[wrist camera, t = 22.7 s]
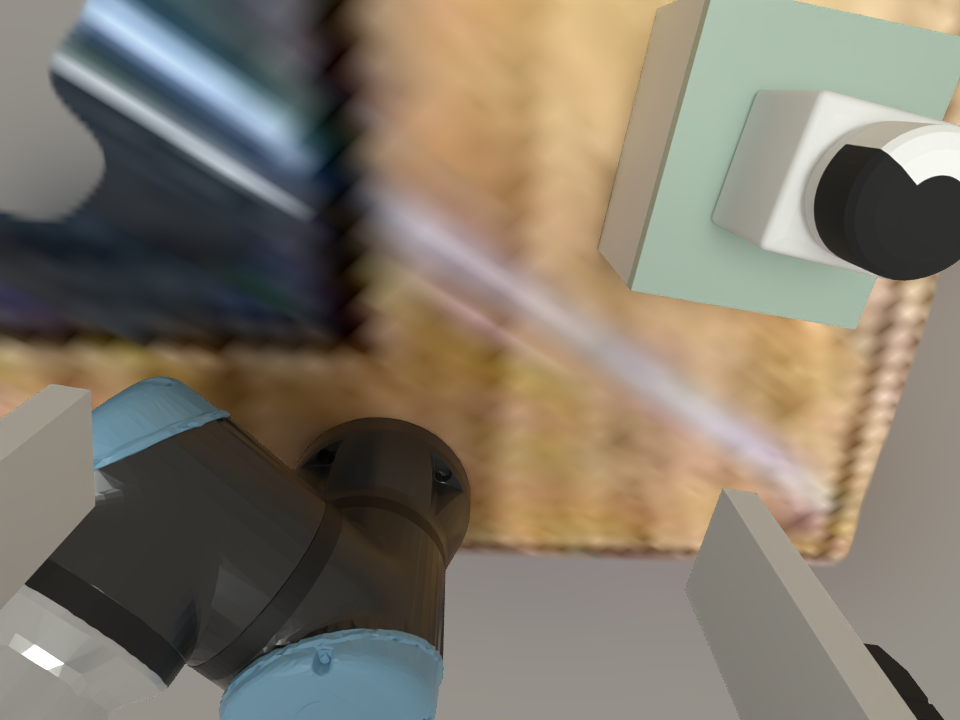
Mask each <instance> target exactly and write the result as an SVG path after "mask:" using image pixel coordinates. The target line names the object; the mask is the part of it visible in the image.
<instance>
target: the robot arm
mask: <svg viewBox="0 0 960 720" xmlns="http://www.w3.org/2000/svg"><path fill="white" fill-rule="evenodd" d="M469 517H470V488H469V483H468V479H467V476H466V473H465V471H464V468H463V466H462V464H461V463H460V461H459V459H458V458H457V457H456V455H455V454H454V453H453V451H452V450H451V449H450V448H449V447H448V446H447V445H446V444H445V443H444V442H443V441H441V440H440V439H439V438H438V437H436V436H435V435H433V434H432V433H430V432H428V431H427V430H425V429H423V428H421V427H418V426H416V425H413V424H410V423H407V422H404V421H400V420H394V419H387V418H367V419H359V420H355V421H350V422H347V423H344V424H341V425H339V426H337V427H334V428H332V429H330V430H329V431H327V432H325V433H324V434H322V435H321V436H320V437H318V438H317V439H316V440H315V441H314V442H313V443H312V444H311V445H310V446H309V447H308V448H307V449H306V451H305V452H304V454H303V455H302V457H301V458H300V460H299V462H298V464H297V466H296V469H295V471H292V470H291V469H290V468H289V467H288V466H286V465H285V464H284V463H283V462H282V461H281V460H279V459H278V458H277V457H276V456H275V455H274V454H272V453H271V452H270V451H269V450H268V449H267V448H265V447H264V446H263V445H262V444H261V443H259V442H258V441H257V440H256V439H255V438H254V437H252V436H251V435H250V434H249V433H248V432H247V431H245V430H244V429H243V428H242V427H241V426H240V425H238V424H237V423H236V422H235V421H234V420H232V419H231V414H230V413H229V412H227V411H225V410H219V409H218V408H216V407H215V406H214V405H212V404H211V403H209V402H208V401H207V400H205V399H204V398H203V397H201V396H200V395H199V394H197V393H196V392H195V391H193V390H192V389H191V388H189V387H188V386H187V385H185V384H184V383H182V382H181V381H179V380H176V379H173V378H170V377H153V378H148V379H145V380H142V381H140V382H138V383H136V384H134V385H132V386H130V387H128V388H127V389H125V390H123V391H122V392H120V393H118V394H117V395H115V396H113V397H112V398H111V399H109V400H108V401H106V402H105V403H103V404H102V405H100V406H99V407H97V408H96V409H94V410H93V411H92V409H91V390H87V389H81V388H74V387H68V386H61V385H55V384H50V385H49V386H47V387H46V388H44V389H43V390H41V391H40V392H38V393H37V394H36V395H34V396H33V397H31V398H30V399H28V400H27V401H26V402H24V403H23V404H21V405H20V406H18V407H17V408H16V409H14V410H13V411H11V412H10V413H8V414H7V415H5V416H4V417H3V418H1V419H0V720H107V718H108V717H109V715H110V714H112V713H113V712H115V711H117V710H118V709H120V708H122V707H124V706H127V705H130V704H134V703H137V702H140V701H143V700H147V699H150V698H154V697H157V696H160V695H162V694H163V693H164V692H165V691H166V689H167V688H168V687H169V685H170V684H171V683H172V681H173V680H174V679H175V677H176V676H177V674H178V673H179V672H180V670H181V669H182V667H183V666H184V664H187V665H188V666H189V667H192V668H193V669H194V670H196V671H197V672H199V673H200V674H202V675H203V676H205V677H206V678H207V679H209V680H210V681H212V682H213V683H215V684H216V685H218V686H219V687H221V688H222V689H223V690H225V692H224V694H223V696H222V700H221V702H220V708H219V715H220V720H434V718H435V713H436V707H437V698H438V691H439V686H440V684H441V681H442V678H443V637H444V604H445V603H444V601H445V571H446V569H447V567H448V565H449V563H450V562H451V560H452V558H453V557H454V555H455V553H456V551H457V550H458V548H459V546H460V545H461V543H462V541H463V539H464V536H465V534H466V531H467V527H468V523H469ZM685 591H686V593H687V596H688V598H689V600H690V602H691V605H692V607H693V609H694V612H695V614H696V616H697V619H698V621H699V624H700V626H701V628H702V631H703V633H704V635H705V638H706V640H707V642H708V645H709V647H710V649H711V652H712V654H713V656H714V659H715V661H716V663H717V666H718V668H719V670H720V673H721V675H722V677H723V680H724V682H725V684H726V687H727V689H728V691H729V694H730V696H731V698H732V700H733V703H734V705H735V708H736V710H737V712H738V715H739V717H740V719H741V720H944V719H943V718H942V717H941V715H940V714H939V713H938V711H937V710H936V709H935V707H934V706H933V705H932V704H929V703H928V698H927V697H926V695H925V694H924V693H923V691H922V690H921V689H920V687H919V686H918V685H917V683H916V682H915V681H914V679H913V678H912V677H911V676H910V674H909V673H908V671H907V670H906V669H904V668H903V667H902V666H901V665H900V664H899V663H898V662H896V661H895V660H894V659H893V658H892V657H891V656H890V655H888V654H887V653H886V652H885V651H884V650H883V649H882V648H880V647H879V646H878V645H870V644H864V643H863V642H862V641H861V640H860V638H859V637H858V636H857V634H856V633H855V631H854V630H853V628H852V627H851V626H850V624H849V623H848V621H847V620H846V618H845V617H844V616H843V614H842V613H841V611H840V610H839V609H838V607H837V606H836V604H835V603H834V602H833V600H832V599H831V597H830V596H829V595H828V593H827V592H826V590H825V589H824V588H823V586H822V585H821V584H820V582H819V580H818V579H817V578H816V576H815V575H814V574H813V572H812V571H811V569H810V568H809V566H808V565H807V563H806V562H805V561H804V559H803V558H802V556H801V555H800V554H799V552H798V551H797V549H796V548H795V547H794V545H793V544H792V542H791V541H790V540H789V538H788V537H787V535H786V534H785V532H784V531H783V530H782V528H781V527H780V525H779V524H778V523H777V521H776V520H775V518H774V517H773V516H772V514H771V513H770V511H769V510H768V508H767V507H766V506H765V504H764V503H763V501H762V500H761V499H760V497H759V496H758V494H757V493H752V492H745V491H739V490H732V489H726V488H722V491H721V494H720V496H719V499H718V502H717V504H716V507H715V510H714V513H713V515H712V518H711V521H710V523H709V526H708V529H707V531H706V534H705V537H704V539H703V542H702V545H701V548H700V550H699V553H698V556H697V558H696V561H695V564H694V566H693V569H692V572H691V575H690V577H689V580H688V582H687V585H686V588H685Z"/></svg>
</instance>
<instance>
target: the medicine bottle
mask: <svg viewBox="0 0 960 720" xmlns="http://www.w3.org/2000/svg"><path fill="white" fill-rule="evenodd" d="M712 220H713V223H715V224H717V225H718V226H720V227H722V228H724V229H726V230H728V231H730V232H731V233H733V234H735V235H737V236H739V237H741V238H743V239H744V240H746V241H748V242H750V243H752V244H754V245H756V246H758V247H759V248H761V249H763V250H766V251H771V252H775V253H779V254H783V255H787V256H791V257H796V258H800V259H804V260H808V261H812V262H816V263H821V264H825V265H829V266H833V267H837V268H842V269H846V270H850V271H854V272H858V273H862V274H867V275H871V276H875V277H879V278H883V279H887V280H915V279H919V278H924V277H927V276H930V275H933V274H936V273H938V272H940V271H942V270H944V269H946V268H948V267H949V266H951V265H953V264H954V263H956V262H957V261H958V260H960V126H959V125H955V124H952V123H948V122H944V121H940V120H937V119H933V118H929V117H926V116H922V115H918V114H914V113H911V112H907V111H903V110H900V109H896V108H892V107H888V106H885V105H881V104H877V103H874V102H870V101H866V100H862V99H859V98H855V97H851V96H848V95H844V94H840V93H836V92H833V91H829V90H761V91H760V92H758V93H757V95H756V96H755V99H754V102H753V105H752V107H751V110H750V113H749V116H748V118H747V121H746V124H745V127H744V129H743V132H742V135H741V138H740V141H739V143H738V146H737V149H736V152H735V154H734V157H733V160H732V163H731V165H730V168H729V171H728V174H727V176H726V179H725V182H724V185H723V188H722V190H721V193H720V196H719V199H718V201H717V204H716V207H715V210H714V212H713V215H712Z"/></svg>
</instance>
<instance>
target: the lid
mask: <svg viewBox="0 0 960 720" xmlns="http://www.w3.org/2000/svg"><path fill="white" fill-rule="evenodd" d="M959 78H960V36H955V35H951V34H946V33H941V32H937V31H932V30H927V29H923V28H918V27H913V26H909V25H904V24H900V23H895V22H890V21H886V20H881V19H876V18H872V17H867V16H862V15H858V14H853V13H849V12H844V11H839V10H835V9H830V8H825V7H821V6H816V5H812V4H807V3H802V2H798V1H793V0H705V1H704V5H703V9H702V12H701V16H700V20H699V23H698V27H697V31H696V34H695V38H694V42H693V45H692V49H691V53H690V56H689V60H688V64H687V67H686V71H685V75H684V79H683V82H682V86H681V90H680V93H679V97H678V101H677V104H676V108H675V112H674V115H673V119H672V123H671V126H670V130H669V134H668V137H667V141H666V145H665V148H664V152H663V156H662V160H661V163H660V167H659V171H658V174H657V178H656V182H655V185H654V189H653V193H652V196H651V200H650V204H649V207H648V211H647V215H646V218H645V222H644V226H643V229H642V233H641V237H640V241H639V244H638V248H637V252H636V255H635V259H634V263H633V266H632V270H631V274H630V277H629V281H628V285H627V286H628V288H629V289H630V290H631V291H636V292H642V293H647V294H653V295H659V296H665V297H671V298H676V299H682V300H688V301H694V302H699V303H705V304H711V305H717V306H723V307H728V308H734V309H740V310H746V311H751V312H757V313H763V314H769V315H775V316H780V317H786V318H792V319H798V320H803V321H809V322H815V323H821V324H827V325H832V326H838V327H844V328H850V329H855V330H856V327H857V325H858V322H859V320H860V317H861V315H862V313H863V310H864V308H865V305H866V303H867V300H868V298H869V296H870V293H871V291H872V288H873V286H874V284H875V281H876V279H877V277H875V276H871V275H867V274H862V273H858V272H854V271H850V270H846V269H842V268H837V267H833V266H829V265H825V264H821V263H816V262H812V261H808V260H804V259H800V258H796V257H791V256H787V255H783V254H779V253H775V252H771V251H766V250H763V249H761V248H759V247H758V246H756V245H754V244H752V243H750V242H748V241H746V240H744V239H743V238H741V237H739V236H737V235H735V234H733V233H731V232H730V231H728V230H726V229H724V228H722V227H720V226H718V225H717V224H715V223H713V220H712V215H713V212H714V210H715V207H716V204H717V201H718V199H719V196H720V193H721V190H722V188H723V185H724V182H725V179H726V176H727V174H728V171H729V168H730V165H731V163H732V160H733V157H734V154H735V152H736V149H737V146H738V143H739V141H740V138H741V135H742V132H743V129H744V127H745V124H746V121H747V118H748V116H749V113H750V110H751V107H752V105H753V102H754V99H755V96H756V95H757V93H758V92H760V91H761V90H829V91H833V92H836V93H840V94H844V95H848V96H851V97H855V98H859V99H862V100H866V101H870V102H874V103H877V104H881V105H885V106H888V107H892V108H896V109H900V110H903V111H907V112H911V113H914V114H918V115H922V116H926V117H929V118H933V119H937V120H940V121H942V119H943V117H944V114H945V112H946V109H947V107H948V105H949V102H950V100H951V97H952V95H953V92H954V90H955V88H956V85H957V83H958V80H959Z"/></svg>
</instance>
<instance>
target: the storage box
mask: <svg viewBox="0 0 960 720" xmlns="http://www.w3.org/2000/svg"><path fill="white" fill-rule="evenodd" d="M704 1H705V0H677V1H675V2H672V3H670V4H668V5H666V6H663V7H661V8H659V9H657V13H656V17H655V21H654V25H653V29H652V33H651V37H650V41H649V45H648V49H647V53H646V57H645V61H644V65H643V69H642V73H641V77H640V81H639V85H638V89H637V93H636V97H635V101H634V105H633V109H632V113H631V117H630V121H629V125H628V129H627V133H626V137H625V141H624V145H623V149H622V153H621V157H620V161H619V165H618V169H617V173H616V177H615V181H614V185H613V189H612V193H611V197H610V201H609V205H608V209H607V213H606V217H605V221H604V225H603V229H602V233H601V237H600V241H599V245H598V250H599V251H600V253H601V254H602V255H603V256H604V258H605V259H606V260H607V261H608V263H609V264H610V265H611V266H612V268H613V269H614V270H615V271H616V273H617V274H618V275H619V276H620V278H621V279H622V280H623V281H624V283H625V284H626V285H628V281H629V277H630V274H631V270H632V266H633V263H634V259H635V255H636V252H637V248H638V244H639V241H640V237H641V233H642V229H643V226H644V222H645V218H646V215H647V211H648V207H649V204H650V200H651V196H652V193H653V189H654V185H655V182H656V178H657V174H658V171H659V167H660V163H661V160H662V156H663V152H664V148H665V145H666V141H667V137H668V134H669V130H670V126H671V123H672V119H673V115H674V112H675V108H676V104H677V101H678V97H679V93H680V90H681V86H682V82H683V79H684V75H685V71H686V67H687V64H688V60H689V56H690V53H691V49H692V45H693V42H694V38H695V34H696V31H697V27H698V23H699V20H700V16H701V12H702V9H703V5H704Z"/></svg>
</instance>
